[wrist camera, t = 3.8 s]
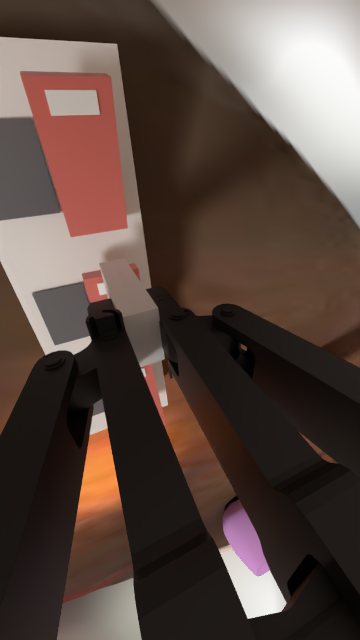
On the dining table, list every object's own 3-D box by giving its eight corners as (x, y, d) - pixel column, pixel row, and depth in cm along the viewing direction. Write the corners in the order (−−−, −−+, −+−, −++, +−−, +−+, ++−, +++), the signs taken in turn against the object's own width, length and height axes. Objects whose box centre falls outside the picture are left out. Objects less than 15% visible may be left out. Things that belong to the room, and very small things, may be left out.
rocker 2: (105, 353, 20) (108, 362, 19) (81, 273, 16) (83, 280, 15) (147, 340, 21) (151, 348, 20) (134, 263, 17) (138, 269, 16)
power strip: (97, 441, 32) (102, 480, 28) (-70, 62, 13) (-128, 17, 9) (162, 415, 35) (175, 447, 31) (105, 68, 15) (121, 35, 11)
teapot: (223, 531, 73) (255, 601, 61) (212, 508, 61) (250, 591, 49) (286, 489, 77) (327, 548, 66) (288, 460, 65) (340, 526, 53)
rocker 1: (68, 228, 15) (71, 238, 14) (19, 70, 10) (20, 75, 9) (123, 220, 16) (128, 229, 15) (105, 73, 11) (111, 77, 10)
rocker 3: (129, 432, 24) (131, 440, 23) (110, 369, 22) (112, 374, 21) (163, 419, 25) (166, 425, 24) (148, 357, 23) (151, 361, 22)
